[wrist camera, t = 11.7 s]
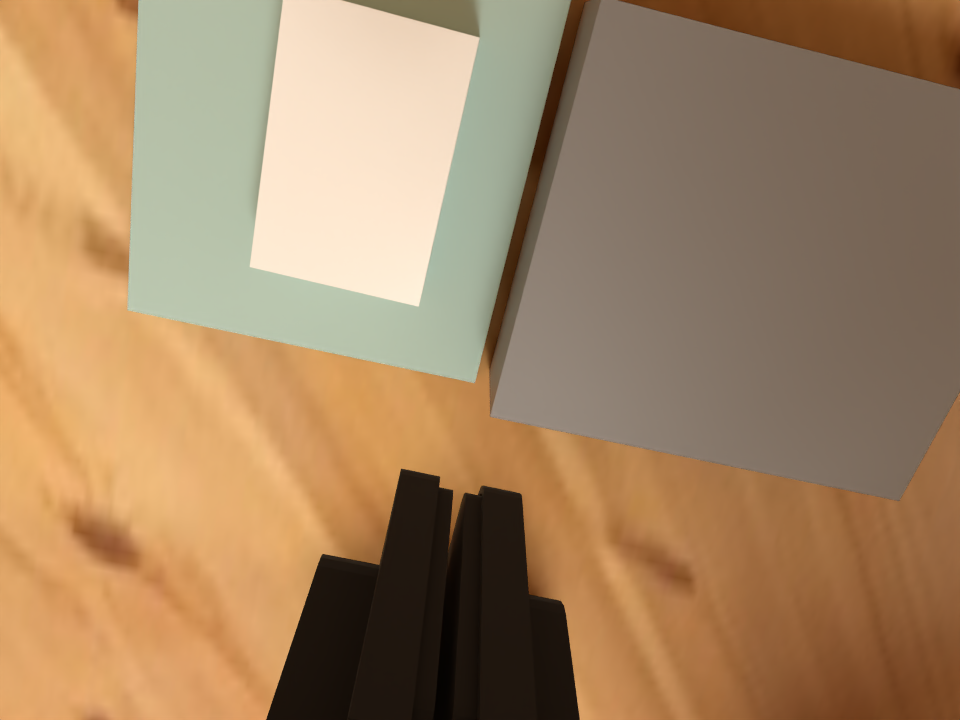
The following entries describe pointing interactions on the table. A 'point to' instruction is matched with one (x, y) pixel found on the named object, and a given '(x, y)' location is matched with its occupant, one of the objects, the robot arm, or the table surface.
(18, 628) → the table surface
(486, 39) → the mat
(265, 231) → the tile
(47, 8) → the table surface
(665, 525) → the table surface
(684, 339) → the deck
